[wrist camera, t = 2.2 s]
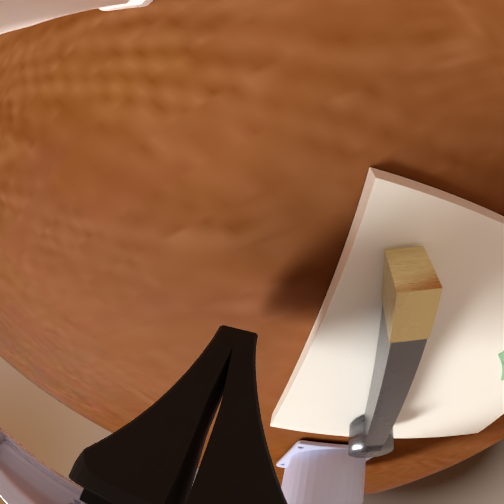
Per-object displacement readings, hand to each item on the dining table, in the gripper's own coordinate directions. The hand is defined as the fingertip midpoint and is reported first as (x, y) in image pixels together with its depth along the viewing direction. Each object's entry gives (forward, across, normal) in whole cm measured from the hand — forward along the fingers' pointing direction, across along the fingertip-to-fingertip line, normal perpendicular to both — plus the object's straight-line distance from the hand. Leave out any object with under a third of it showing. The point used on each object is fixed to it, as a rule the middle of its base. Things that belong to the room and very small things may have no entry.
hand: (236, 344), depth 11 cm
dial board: (+2, -12, +2) cm, 13 cm away
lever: (+1, -7, +2) cm, 7 cm away
